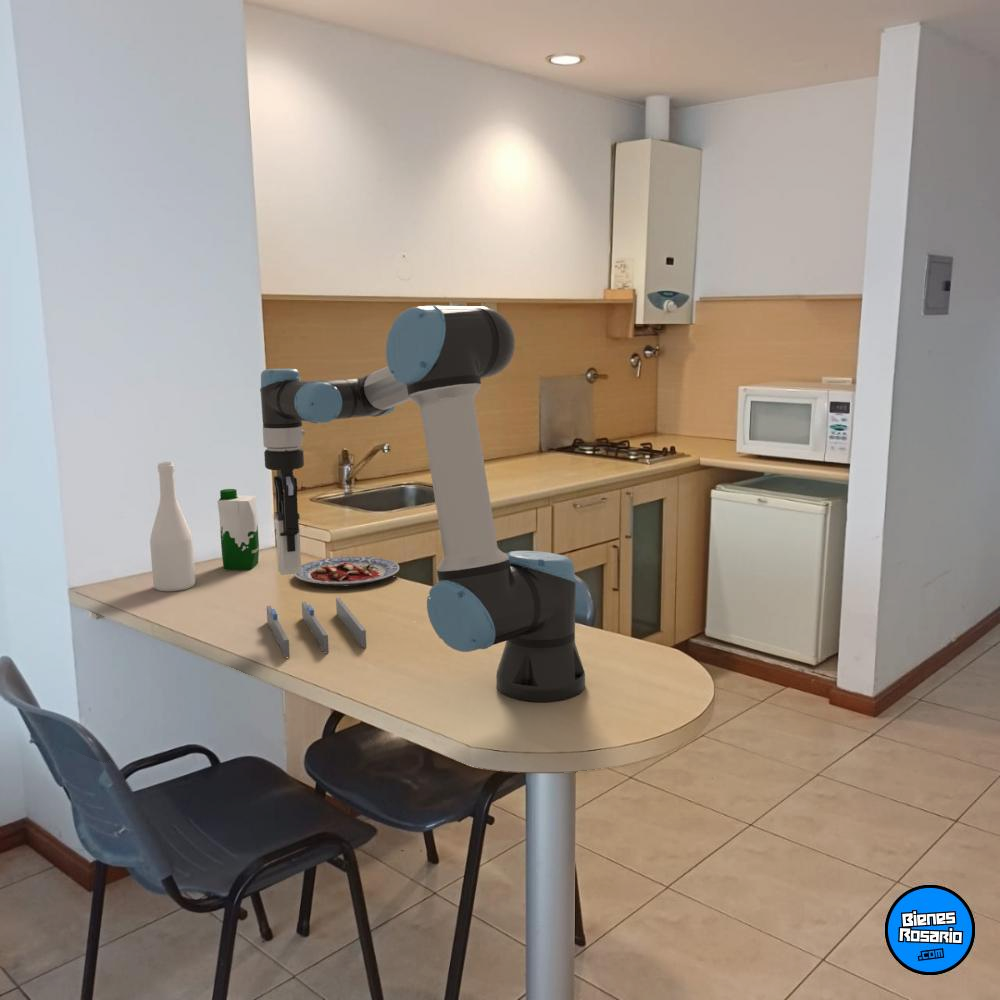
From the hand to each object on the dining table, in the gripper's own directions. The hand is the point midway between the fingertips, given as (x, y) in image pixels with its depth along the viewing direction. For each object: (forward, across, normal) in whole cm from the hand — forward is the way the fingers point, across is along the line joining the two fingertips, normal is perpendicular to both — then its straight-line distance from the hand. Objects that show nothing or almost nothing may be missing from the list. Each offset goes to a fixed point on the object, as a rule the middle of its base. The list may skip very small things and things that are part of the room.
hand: (289, 563), depth 194 cm
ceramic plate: (+15, +38, -19) cm, 45 cm away
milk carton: (+15, +59, +4) cm, 61 cm away
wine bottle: (+14, +45, +21) cm, 51 cm away
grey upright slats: (+14, -4, -4) cm, 15 cm away
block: (+2, 0, 0) cm, 2 cm away
